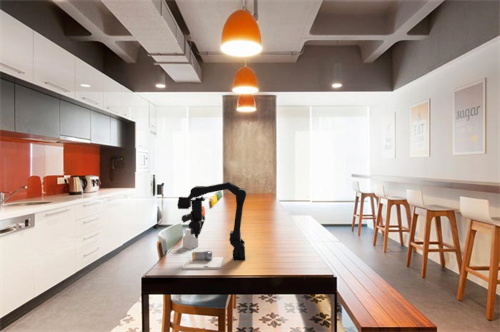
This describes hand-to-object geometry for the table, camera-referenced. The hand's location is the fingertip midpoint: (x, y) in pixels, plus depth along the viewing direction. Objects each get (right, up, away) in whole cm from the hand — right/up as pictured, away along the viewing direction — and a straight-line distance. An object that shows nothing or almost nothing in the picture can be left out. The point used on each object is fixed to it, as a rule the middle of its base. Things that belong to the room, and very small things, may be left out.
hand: (197, 236), depth 160 cm
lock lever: (+3, -12, -4) cm, 13 cm away
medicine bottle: (-9, -12, +22) cm, 26 cm away
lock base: (+5, -13, -7) cm, 16 cm away
